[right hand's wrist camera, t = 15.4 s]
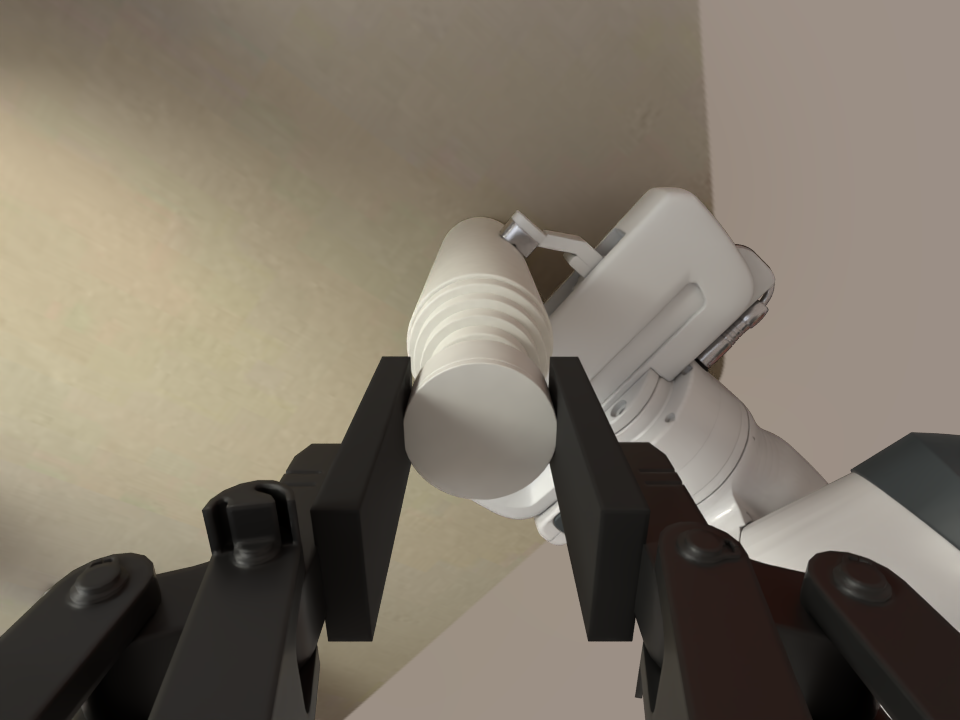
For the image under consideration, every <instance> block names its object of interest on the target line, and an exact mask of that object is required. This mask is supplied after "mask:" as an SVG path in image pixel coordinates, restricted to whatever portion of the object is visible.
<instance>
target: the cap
mask: <svg viewBox="0 0 960 720" xmlns="http://www.w3.org/2000/svg"><path fill="white" fill-rule="evenodd" d="M556 431H557V417H556V414H555V410H554V406H553V403H552V399H551V396H550V392H549V389H548V385H547V382H546V380H545V378H544V376H543V374H542V372H541V371H540V369H539V368H538V367H537V365H536V364H535V363H534V362H533V361H532V360H531V359H530V358H529V357H528V356H527V355H525V354H524V353H522V352H521V351H520V350H518V349H516V348H514V347H512V346H510V345H507V344H504V343H501V342H497V341H492V340H469V341H463V342H460V343H456V344H453V345H451V346H448V347H446V348H444V349H443V350H441V351H439V352H438V353H436V354H435V355H434V356H433V357H431V358H430V359H429V360H428V361H427V362H426V363H425V364H424V366H423V367H422V368H421V370H420V371H419V373H418V375H417V377H416V379H415V381H414V384H413V387H412V390H411V393H410V397H409V400H408V404H407V407H406V411H405V415H404V439H405V450H406V453H407V456H408V458H409V460H410V461H411V463H412V465H413V466H414V468H415V469H416V470H417V472H418V473H419V474H420V475H421V476H422V477H423V478H424V479H425V480H426V481H427V482H429V483H430V484H431V485H433V486H434V487H436V488H438V489H439V490H441V491H443V492H445V493H448V494H450V495H453V496H456V497H460V498H465V499H473V500H488V499H496V498H500V497H504V496H507V495H510V494H513V493H515V492H517V491H519V490H521V489H523V488H525V487H526V486H528V485H529V484H531V483H532V482H533V481H534V480H535V479H537V478H538V477H539V475H540V474H541V473H542V472H543V471H544V470H545V468H546V467H547V465H548V464H549V462H550V460H551V458H552V456H553V454H554V451H555V447H556Z"/></svg>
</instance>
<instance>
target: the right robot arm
mask: <svg viewBox="0 0 960 720" xmlns="http://www.w3.org/2000/svg"><path fill="white" fill-rule="evenodd" d="M548 389H549V392H550V396H551V399H552V403H553V406H554V410H555V414H556V417H557V431H556V447H555V451H554V454H553V456H552V458H551V460H550V462H549V464H550V469H551V474H552V478H553V483H554V487H555V492H556V496H557V501H558V506H559V510H560V515H561V519H562V524H563V528H564V533H565V538H566V542H567V547H568V551H569V556H570V560H571V565H572V569H573V574H574V579H575V583H576V588H577V592H578V597H579V601H580V606H581V611H582V615H583V620H584V624H585V629H586V633H587V638H588V641H632V640H633V632H634V625H635V618H636V620H637V623H638V625H639V629H640V632H641V635H642V638H643V647H642V654H641V660H640V667H639V674H638V680H637V687H636V694H635V697H636V698H642V695H643V700H644V710H645V720H960V633H959V632H958V631H957V630H956V629H955V628H954V627H953V626H952V625H951V624H950V623H949V622H948V621H947V620H946V619H945V618H944V617H942V616H941V615H940V614H939V613H938V612H937V611H936V610H935V609H934V608H933V607H932V606H931V605H930V604H929V603H928V602H927V601H926V600H925V599H924V598H922V597H921V596H920V595H919V594H918V593H917V592H916V591H915V590H914V589H913V588H912V587H911V586H910V585H909V584H908V583H907V582H906V581H904V580H903V579H902V578H900V577H899V576H898V575H897V574H895V573H894V572H893V571H891V570H890V569H889V568H887V567H885V566H883V565H881V564H879V563H877V562H875V561H873V560H871V559H869V558H866V557H863V556H859V555H856V554H853V553H849V552H841V551H825V552H820V553H816V554H815V555H814V556H813V557H812V558H811V559H810V560H809V561H808V564H807V568H806V571H805V572H801V571H796V570H792V569H787V568H783V567H778V566H774V565H769V564H765V563H762V562H759V561H755V560H752V559H750V558H749V556H748V554H747V552H746V551H745V549H744V548H743V546H742V545H741V543H740V542H738V541H737V540H736V539H735V538H733V537H732V536H731V535H730V534H728V533H727V532H725V531H722V530H720V529H718V528H716V527H714V526H711V525H708V523H707V521H706V520H705V518H704V516H703V515H702V513H701V512H700V510H699V508H698V507H697V505H696V503H695V502H694V500H693V498H692V497H691V495H690V493H689V492H688V490H687V489H686V487H685V485H682V480H681V479H680V477H679V475H678V474H677V472H675V469H674V467H673V465H672V464H671V462H670V461H669V459H668V457H667V456H666V454H664V453H663V452H662V451H660V450H659V449H658V448H656V447H655V446H653V445H652V444H651V443H649V442H618V440H617V438H616V436H615V434H614V431H613V429H612V427H611V425H610V423H609V421H608V419H607V417H606V414H605V412H604V410H603V408H602V406H601V404H600V402H599V400H598V397H597V395H596V393H595V391H594V389H593V387H592V385H591V383H590V381H589V378H588V376H587V374H586V372H585V370H584V368H583V366H582V364H581V361H580V359H579V357H550V364H549V384H548ZM411 390H412V374H411V357H382V358H381V360H380V363H379V365H378V367H377V369H376V371H375V373H374V375H373V377H372V379H371V382H370V384H369V386H368V388H367V390H366V392H365V394H364V396H363V399H362V401H361V403H360V405H359V407H358V409H357V411H356V413H355V416H354V418H353V420H352V422H351V424H350V426H349V428H348V430H347V433H346V435H345V437H344V439H343V441H342V443H341V444H311V445H310V446H308V447H307V448H305V449H304V450H303V451H301V452H300V453H299V454H297V455H296V456H295V457H294V459H293V460H292V462H291V464H290V465H289V467H288V469H287V470H286V474H284V475H283V477H282V478H281V480H280V482H278V481H274V480H257V481H252V482H247V483H242V484H239V485H236V486H234V487H231V488H229V489H226V490H224V491H222V492H221V493H219V494H218V495H216V496H215V497H214V498H212V499H211V500H210V501H209V502H208V503H207V505H206V506H205V507H204V508H203V510H202V512H203V517H204V521H205V526H206V530H207V534H208V539H209V543H210V547H211V552H212V557H211V559H210V561H209V562H206V563H203V564H199V565H196V566H192V567H188V568H183V569H179V570H174V571H170V572H165V573H161V574H157V575H156V573H155V569H154V566H153V563H152V562H151V561H150V560H149V559H148V558H147V557H146V556H145V555H140V554H135V553H123V554H113V555H110V556H106V557H103V558H99V559H96V560H93V561H91V562H89V563H87V564H85V565H83V566H81V567H79V568H77V569H75V570H73V571H72V572H71V573H69V574H68V575H67V576H65V577H64V578H63V579H61V580H60V581H59V582H57V583H56V584H55V585H54V586H53V587H52V588H51V589H50V590H49V591H48V592H47V593H46V594H45V595H44V596H43V597H42V598H41V599H39V600H38V601H37V602H36V603H35V604H34V605H33V606H32V607H31V608H30V609H29V610H28V611H27V612H26V613H25V614H24V615H23V616H22V617H21V618H20V619H19V620H18V621H16V622H15V623H14V624H13V625H12V626H11V627H10V628H9V629H8V630H7V631H6V632H5V633H4V634H3V635H2V636H1V637H0V720H71V719H72V718H73V717H74V718H73V719H72V720H315V712H316V701H317V691H318V681H319V671H320V661H319V654H318V647H317V642H318V639H319V636H320V633H321V630H322V627H323V624H324V621H325V622H326V629H327V636H328V641H372V640H373V636H374V631H375V627H376V622H377V617H378V613H379V608H380V604H381V599H382V595H383V590H384V585H385V581H386V576H387V572H388V567H389V563H390V558H391V553H392V549H393V544H394V540H395V535H396V531H397V526H398V521H399V517H400V512H401V508H402V503H403V499H404V494H405V489H406V485H407V480H408V476H409V471H410V467H411V461H410V460H409V458H408V456H407V453H406V450H405V439H404V415H405V411H406V407H407V404H408V400H409V397H410V393H411ZM880 704H881V706H882V707H883V708H884V710H885V711H886V712H887V713H888V715H889V716H890V717H891V718H890V717H889V716H888V715H887V714H886V713H885V711H884V710H883V709H882V707H881V706H880ZM79 709H80V710H79ZM78 710H79V711H78ZM76 713H77V714H76ZM75 714H76V715H75ZM74 715H75V716H74Z"/></svg>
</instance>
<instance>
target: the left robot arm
mask: <svg viewBox="0 0 960 720" xmlns="http://www.w3.org/2000/svg"><path fill="white" fill-rule="evenodd" d="M499 232H500V235H501V236H502V237H503V238H504V239H505V240H506V241H508V242H509V243H510V244H515V246H516V249H517V250H518V251H519V252H520V253H521V254H522V255H523V256H525V257H526V258H527V257H528V256H529V255H530V254H531V253H532V251H533V250H534V249H535V248H536V247H537V246H538V247H542V248H547V249H552V250H557V251H562V252H565V253H564V254H563V257H564V259H565V260H566V261H567V262H568V264H569V265H570V266H571V267H572V268H573V269H575V270H574V271H573V272H572V273H571V274H570V275H569V276H568V278H567V279H566V280H565V281H564V282H563V283H562V284H561V285H560V286H559V287H558V288H557V290H556V291H555V292H554V293H553V294H552V295H551V296H550V297H549V298H548V299H547V300H546V302H545V303H544V304H543V305H544V307H545V310H546V312H547V314H548V317H549V320H550V322H551V326H552V331H553V353H552V357H579V359H580V361H581V364H582V366H583V368H584V370H585V372H586V374H587V376H588V378H589V381H590V383H591V385H592V387H593V389H594V391H595V393H596V395H597V397H598V400H599V402H600V404H601V406H602V408H603V410H604V412H605V414H606V417H607V419H608V421H609V423H610V425H611V427H612V429H613V431H614V434H615V436H616V438H617V440H618V442H649V443H651V444H652V445H653V446H655V447H656V448H658V449H659V450H660V451H662V452H663V453H664V454H666V456H667V457H668V459H669V461H670V462H671V464H672V465H673V467H674V469H675V472H677V474H678V475H679V477H680V479H681V480H682V485H685V487H686V489H687V490H688V492H689V493H690V495H691V497H692V498H693V500H694V502H695V503H696V505H697V507H698V508H699V510H700V512H701V513H702V515H703V516H704V518H705V520H706V521H707V523H708V525H711V526H714V527H716V528H718V529H720V530H722V531H725V532H727V533H728V534H730V535H731V536H732V537H733V538H735V539H736V540H737V541H738V542H740V543H741V545H742V546H743V548H744V549H745V551H746V552H747V554H748V556H749V558H750V559H752V560H755V561H759V562H762V563H765V564H769V565H774V566H778V567H783V568H787V569H792V570H796V571H801V572H805V571H806V568H807V564H808V561H809V560H810V559H811V558H812V557H813V556H814V555H815V554H816V553H820V552H825V551H841V552H849V553H853V554H856V555H859V556H863V557H866V558H869V559H871V560H873V561H875V562H877V563H879V564H881V565H883V566H885V567H887V568H889V569H890V570H891V571H893V572H894V573H895V574H897V575H898V576H899V577H900V578H902V579H903V580H904V581H906V582H907V583H908V584H909V585H910V586H911V587H912V588H913V589H914V590H915V591H916V592H917V593H918V594H919V595H920V596H921V597H922V598H924V599H925V600H926V601H927V602H928V603H929V604H930V605H931V606H932V607H933V608H934V609H935V610H936V611H937V612H938V613H939V614H940V615H941V616H942V617H944V618H945V619H946V620H947V621H948V622H949V623H950V624H951V625H952V626H953V627H954V628H955V629H956V630H957V631H958V632H959V633H960V435H951V434H938V433H915V432H911V433H910V434H908V435H906V436H905V437H903V438H902V439H900V440H898V441H897V442H895V443H893V444H892V445H890V446H888V447H887V448H885V449H884V450H882V451H880V452H879V453H877V454H875V455H874V456H872V457H871V458H869V459H867V460H866V461H864V462H863V463H861V464H859V465H858V466H856V467H854V468H853V469H851V472H852V473H850V474H848V475H846V476H844V477H842V478H840V479H838V480H836V481H834V482H832V483H830V484H828V483H827V482H826V481H825V479H824V478H823V477H822V476H821V475H820V474H819V473H818V472H817V471H816V470H815V469H814V468H813V467H812V466H811V465H810V464H809V463H808V462H807V461H806V460H805V459H804V458H803V457H802V456H801V455H800V454H799V453H798V452H797V451H796V450H795V449H794V448H792V447H791V446H790V445H789V444H788V443H787V442H785V441H784V440H783V439H782V438H780V437H778V436H777V435H775V434H773V433H771V432H768V431H766V430H763V429H761V428H760V427H759V426H758V425H757V424H756V422H755V420H754V418H753V416H752V415H751V413H750V411H749V410H748V409H747V407H746V406H745V405H744V404H743V403H742V402H741V401H740V400H739V399H738V398H737V397H736V396H735V395H734V394H732V393H731V392H730V391H729V390H728V389H727V388H726V387H725V386H724V385H723V384H721V383H720V382H719V381H718V380H717V379H716V378H715V377H714V376H713V375H711V374H710V373H709V372H708V369H709V368H710V367H711V366H712V365H713V364H714V363H715V362H716V361H717V360H718V359H720V358H721V357H722V356H723V355H724V354H725V353H726V352H727V351H728V350H729V349H730V348H731V347H732V345H733V344H734V343H735V341H737V340H738V339H739V337H741V336H742V334H743V333H745V332H746V331H747V330H748V329H749V328H753V327H754V326H755V325H756V324H757V323H759V322H760V321H761V320H762V319H763V317H764V316H765V315H766V313H767V312H768V308H767V307H766V305H767V303H768V302H769V300H770V299H771V297H772V294H773V291H774V283H775V277H774V274H773V272H772V271H771V269H770V267H769V266H768V265H767V264H766V263H765V262H764V261H763V260H762V259H761V258H760V257H759V256H758V255H757V254H756V253H755V252H754V251H753V250H752V249H750V248H748V247H746V246H744V245H739V244H734V242H733V241H732V239H731V238H730V237H729V235H728V234H727V232H726V231H725V230H724V228H723V227H722V226H721V224H720V223H719V222H718V221H717V219H716V218H715V217H714V216H713V214H712V213H711V212H710V211H709V210H708V208H707V207H706V206H705V205H704V204H703V203H702V202H701V201H700V200H699V199H698V198H697V197H696V196H695V195H694V194H693V193H691V192H689V191H688V190H685V189H682V188H678V187H655V188H651V189H649V190H648V191H647V192H646V193H645V194H644V195H643V196H642V197H641V198H640V199H639V200H638V201H637V202H636V204H635V205H634V206H633V207H632V208H631V209H630V210H629V211H628V212H627V213H626V214H625V216H624V217H623V218H622V219H621V220H620V221H619V222H618V223H617V224H616V225H615V226H614V227H613V229H612V230H611V231H610V232H609V233H608V234H607V235H606V236H605V237H604V238H603V239H602V241H601V242H600V243H599V244H598V245H597V246H596V247H595V248H592V247H591V246H590V245H589V244H588V243H587V242H586V241H585V240H583V239H582V238H581V237H580V236H577V235H572V234H566V233H561V232H555V231H550V230H543V231H542V230H540V229H539V228H538V227H537V226H536V225H535V224H534V223H533V222H532V221H530V220H529V219H528V218H527V217H526V216H525V215H524V214H523V213H521V212H520V211H519V210H517V211H516V212H515V213H514V214H513V216H512V217H511V218H510V219H509V220H508V221H507V223H506V224H505V225H504V226H503V228H502V229H501V230H500V231H499ZM762 295H763V296H762ZM761 296H762V298H761V299H760V301H759V300H758V299H759V298H760V297H761ZM545 380H546V382H547V385H548V384H549V372H548V375H547V377H546V379H545ZM471 500H472V501H474V502H476V503H477V504H479V505H481V506H483V507H485V508H486V509H488V510H490V511H492V512H494V513H496V514H498V515H501V516H504V517H507V518H511V519H528V518H532V517H534V521H535V524H536V527H537V530H538V532H539V534H540V535H541V536H542V537H543V538H544V539H545V540H547V541H548V542H550V543H552V544H554V545H565V544H567V542H566V538H565V533H564V528H563V524H562V519H561V515H560V510H559V506H558V501H557V496H556V492H555V487H554V483H553V478H552V474H551V469H550V464H548V465H547V467H546V468H545V470H544V471H543V472H542V473H541V474H540V475H539V477H538V478H537V479H535V480H534V481H533V482H532V483H531V484H529V485H528V486H526V487H525V488H523V489H521V490H519V491H517V492H515V493H513V494H510V495H507V496H504V497H500V498H496V499H488V500H473V499H471ZM49 590H50V589H49ZM49 590H47V591H46V592H45V594H46V593H47V592H48V591H49ZM45 594H44V595H45ZM44 595H43V596H44ZM43 596H42V597H43ZM42 597H41V598H42ZM880 706H881V704H880ZM881 707H882V706H881ZM882 709H883V710H884V708H883V707H882ZM79 710H80V709H79ZM79 710H78V711H79ZM884 711H885V710H884ZM885 713H886V714H887V715H888V713H887V712H886V711H885ZM76 714H77V713H76ZM76 714H75V715H76ZM75 715H74V716H75ZM888 716H889V715H888ZM889 717H890V716H889ZM73 718H74V717H73ZM73 718H72V719H73ZM890 718H891V717H890ZM72 719H71V720H72Z"/></svg>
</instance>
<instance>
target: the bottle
mask: <svg viewBox="0 0 960 720" xmlns="http://www.w3.org/2000/svg"><path fill="white" fill-rule="evenodd" d="M503 226H504V224H502V223H501V222H499V221H497V220H494V219H491V218H487V217H473V218H469V219H466V220H463V221H461V222H460V223H458V224H456V225H455V226H454V227H453V228H452V229H451V230H450V231H449V232H448V233H447V235H446V236H445V238H444V240H443V242H442V244H441V247H440V249H439V252H438V254H437V256H436V259H435V261H434V264H433V266H432V269H431V271H430V274H429V276H428V278H427V281H426V283H425V286H424V288H423V291H422V293H421V296H420V298H419V300H418V303H417V305H416V308H415V310H414V313H413V315H412V318H411V320H410V323H409V327H408V332H407V351H408V357H411V371H412V374H413V376H414V378H415V379H416V377H417V375H418V373H419V371H420V370H421V368H422V367H423V366H424V364H425V363H426V362H427V361H428V360H429V359H430V358H431V357H433V356H434V355H435V354H436V353H438V352H439V351H441V350H443V349H444V348H446V347H448V346H451V345H453V344H456V343H460V342H463V341H469V340H492V341H497V342H501V343H504V344H507V345H510V346H512V347H514V348H516V349H518V350H520V351H521V352H522V353H524V354H525V355H527V356H528V357H529V358H530V359H531V360H532V361H533V362H534V363H535V364H536V365H537V367H538V368H539V369H540V371H541V372H542V374H543V376H544V378H545V379H546V377H547V375H548V372H549V364H550V357H552V353H553V331H552V326H551V322H550V320H549V317H548V314H547V312H546V310H545V307H544V305H543V302H542V300H541V297H540V295H539V293H538V290H537V288H536V285H535V283H534V280H533V278H532V275H531V273H530V271H529V268H528V266H527V263H526V261H525V258H524V256H523V255H522V254H521V253H520V252H519V251H518V250H517V249H516V246H515V244H510V243H509V242H508V241H506V240H505V239H504V238H503V237H502V236H501V235H500V232H499V231H500V230H501V229H502V228H503Z"/></svg>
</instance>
